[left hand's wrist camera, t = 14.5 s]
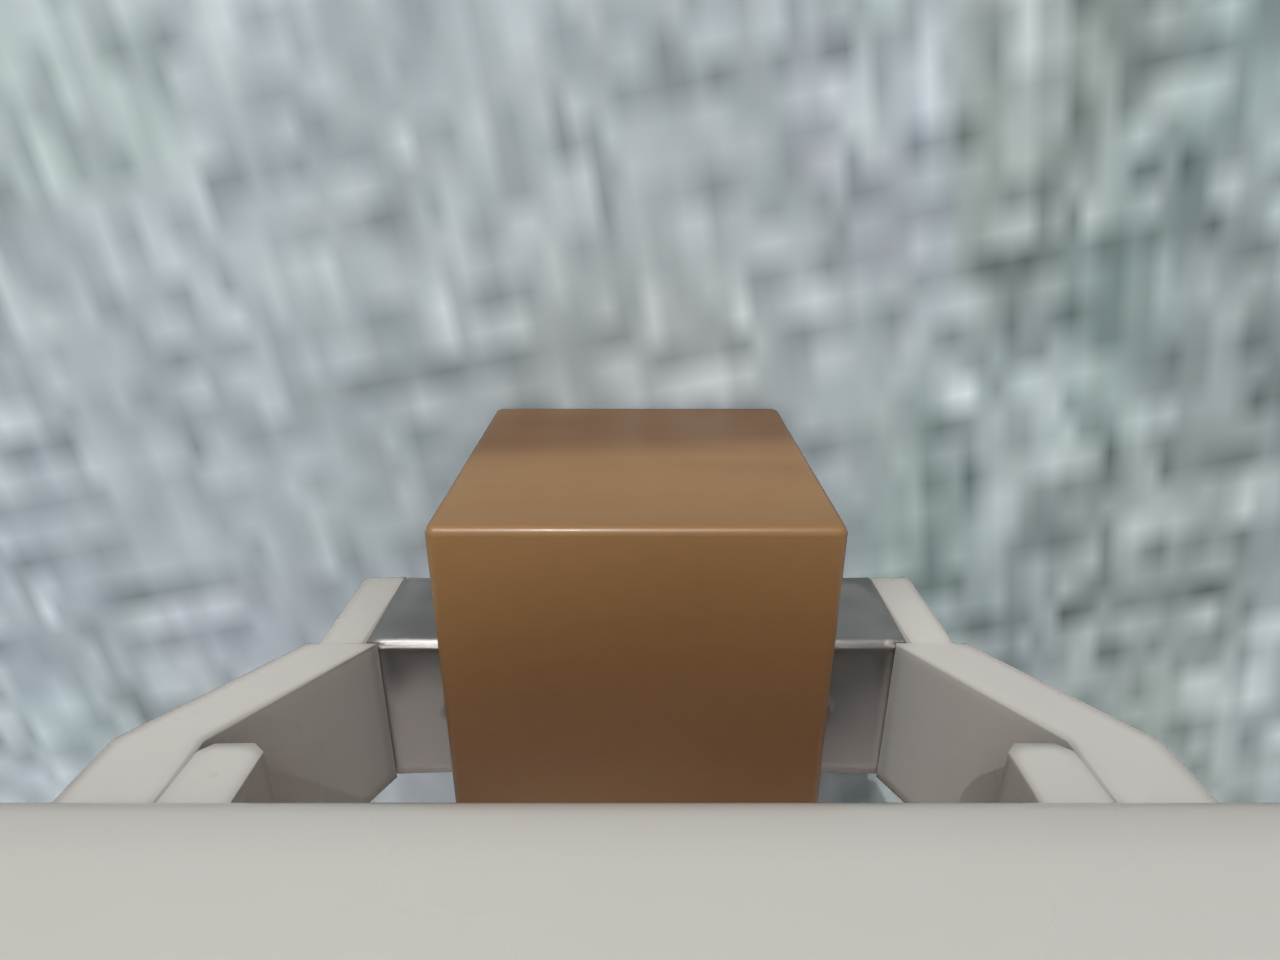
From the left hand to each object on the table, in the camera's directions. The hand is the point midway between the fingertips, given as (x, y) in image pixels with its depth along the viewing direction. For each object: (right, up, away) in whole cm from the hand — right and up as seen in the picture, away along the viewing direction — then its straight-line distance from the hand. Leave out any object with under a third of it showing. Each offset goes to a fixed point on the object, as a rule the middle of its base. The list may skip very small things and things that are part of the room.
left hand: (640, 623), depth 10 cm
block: (0, +1, +2) cm, 2 cm away
